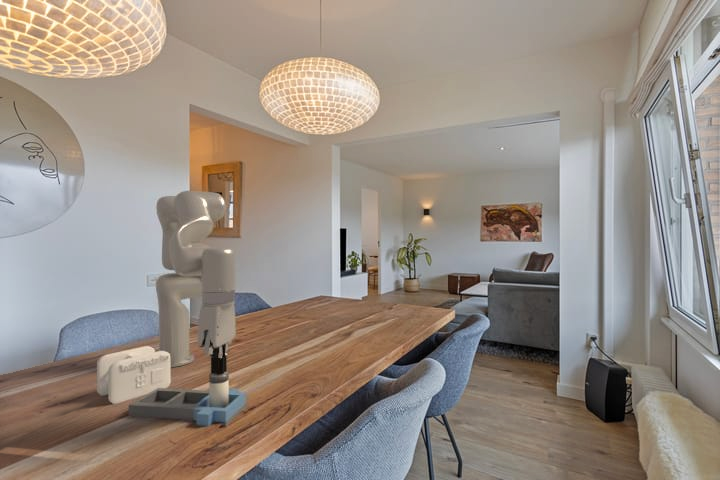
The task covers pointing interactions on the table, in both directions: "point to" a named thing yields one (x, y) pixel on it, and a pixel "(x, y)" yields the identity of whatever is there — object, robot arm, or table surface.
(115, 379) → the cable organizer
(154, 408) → the three compartment tray
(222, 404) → the cream capped cylinder
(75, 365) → the table surface
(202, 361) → the table surface
